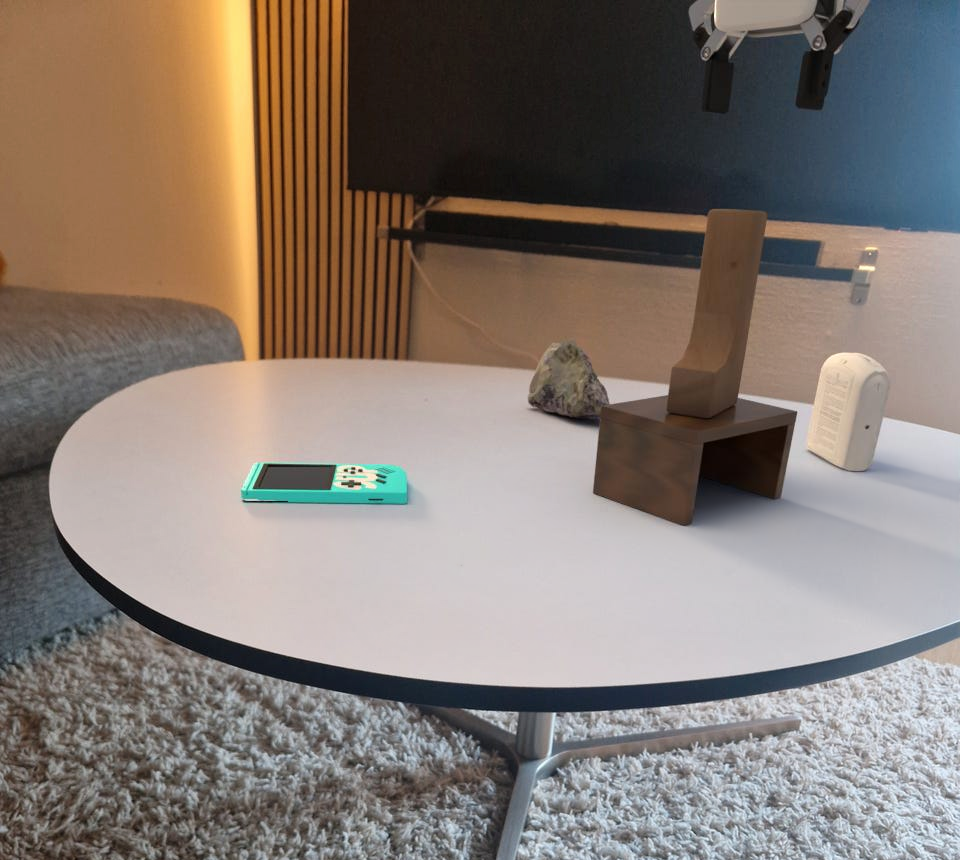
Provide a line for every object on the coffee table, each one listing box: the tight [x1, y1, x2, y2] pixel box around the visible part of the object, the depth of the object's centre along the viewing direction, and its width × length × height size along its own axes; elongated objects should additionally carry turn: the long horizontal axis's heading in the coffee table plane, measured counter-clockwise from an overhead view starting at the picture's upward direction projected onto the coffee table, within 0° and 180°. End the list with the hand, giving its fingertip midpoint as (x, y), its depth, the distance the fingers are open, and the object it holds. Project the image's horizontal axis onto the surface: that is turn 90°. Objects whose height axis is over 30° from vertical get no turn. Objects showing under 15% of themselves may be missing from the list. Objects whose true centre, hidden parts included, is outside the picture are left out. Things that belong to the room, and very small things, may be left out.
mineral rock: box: [527, 338, 611, 420], centre depth 124 cm, size 13×11×10 cm
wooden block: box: [666, 208, 768, 419], centre depth 88 cm, size 9×4×18 cm, turn 149°
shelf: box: [592, 394, 798, 526], centre depth 94 cm, size 12×16×9 cm
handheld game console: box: [240, 461, 408, 505], centre depth 94 cm, size 10×16×1 cm, turn 95°
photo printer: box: [805, 352, 892, 472], centre depth 109 cm, size 10×4×12 cm, turn 10°
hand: (759, 111), depth 81 cm, fingers open, 9 cm apart
